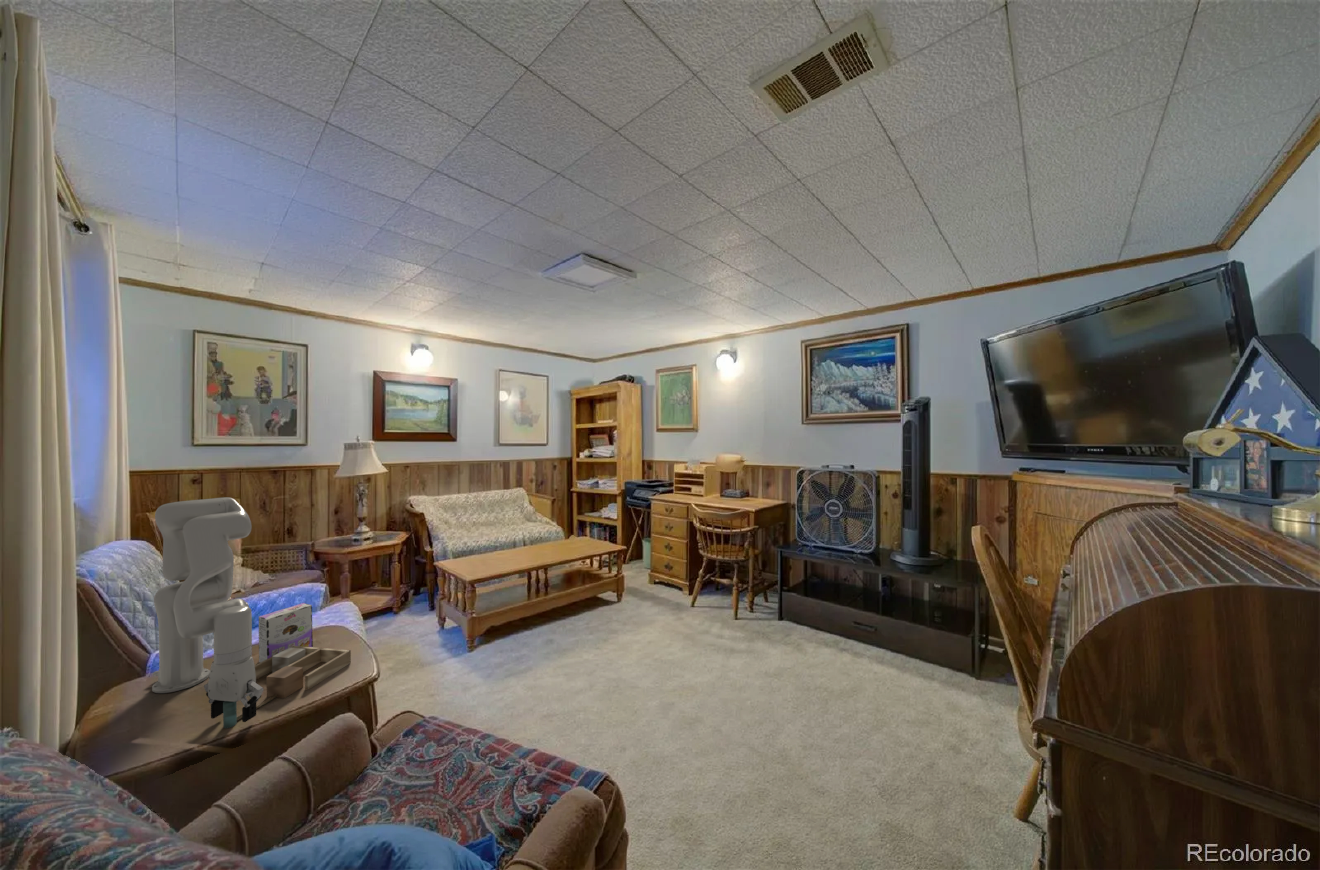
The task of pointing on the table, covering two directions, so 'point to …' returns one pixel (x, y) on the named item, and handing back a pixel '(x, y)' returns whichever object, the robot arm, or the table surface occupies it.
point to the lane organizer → (312, 657)
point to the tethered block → (269, 691)
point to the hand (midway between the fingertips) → (233, 716)
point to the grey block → (286, 658)
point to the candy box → (285, 630)
